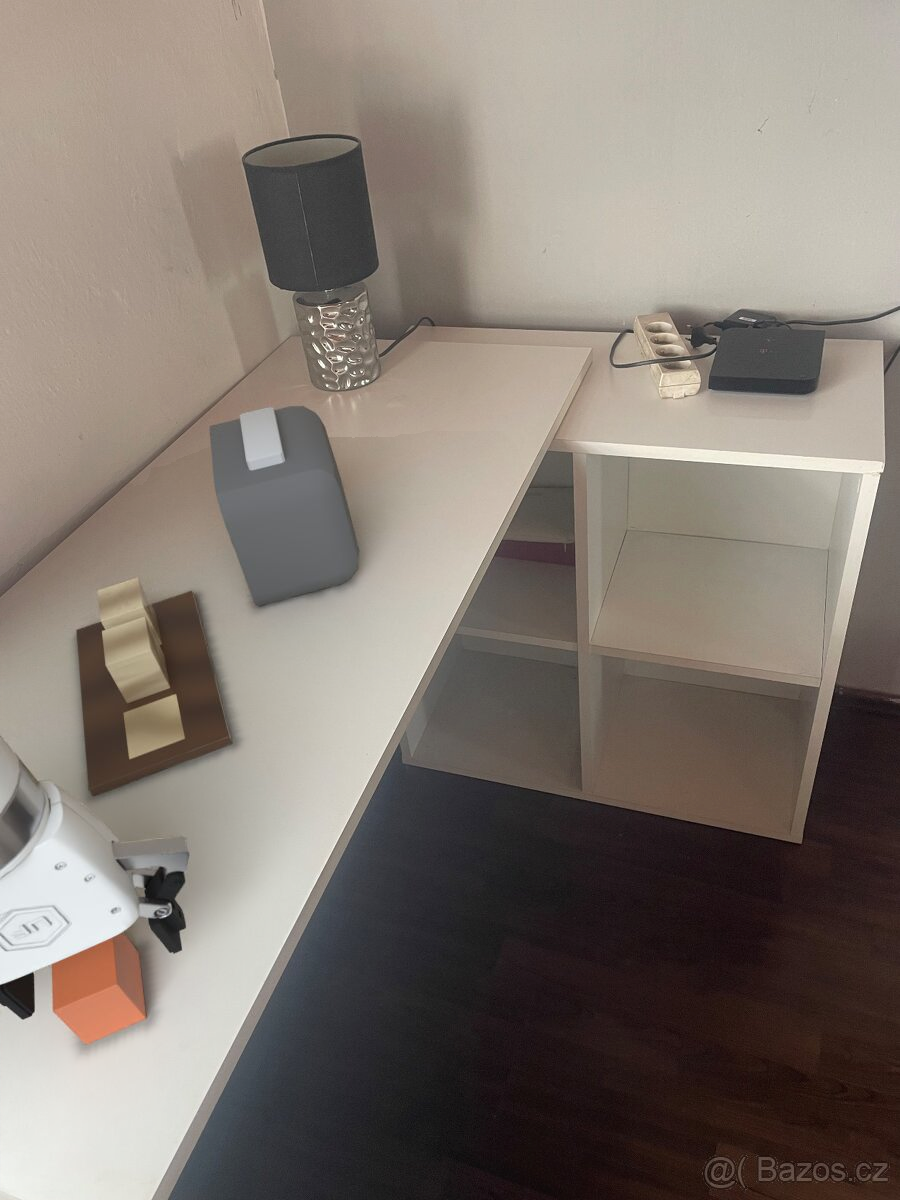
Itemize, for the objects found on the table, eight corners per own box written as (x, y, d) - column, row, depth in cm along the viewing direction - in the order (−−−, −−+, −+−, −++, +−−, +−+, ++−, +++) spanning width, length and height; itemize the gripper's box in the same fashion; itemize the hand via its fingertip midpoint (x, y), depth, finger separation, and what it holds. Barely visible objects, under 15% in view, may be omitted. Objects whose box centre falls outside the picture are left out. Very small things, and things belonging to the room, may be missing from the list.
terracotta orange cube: (146, 1018, 57) (117, 984, 54) (85, 1045, 56) (52, 1011, 53) (139, 952, 61) (111, 916, 58) (82, 976, 60) (50, 941, 57)
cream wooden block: (170, 688, 79) (150, 649, 76) (127, 703, 78) (105, 665, 75) (163, 654, 83) (145, 616, 80) (122, 668, 82) (101, 630, 79)
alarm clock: (248, 528, 99) (204, 406, 89) (344, 503, 100) (312, 380, 90) (260, 617, 87) (211, 488, 76) (369, 588, 88) (336, 457, 78)
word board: (232, 743, 74) (228, 735, 74) (93, 796, 72) (87, 788, 71) (195, 597, 91) (191, 589, 90) (80, 636, 88) (75, 628, 88)
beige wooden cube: (162, 644, 84) (143, 606, 81) (121, 658, 83) (100, 621, 80) (156, 614, 88) (138, 576, 84) (117, 627, 87) (97, 590, 84)
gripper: (-222, 952, 41) (-33, 1080, 53) (134, 808, 44) (240, 958, 56) (-195, 829, 47) (-29, 969, 58) (121, 708, 50) (220, 864, 61)
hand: (103, 964), depth 57 cm, fingers open, 9 cm apart
